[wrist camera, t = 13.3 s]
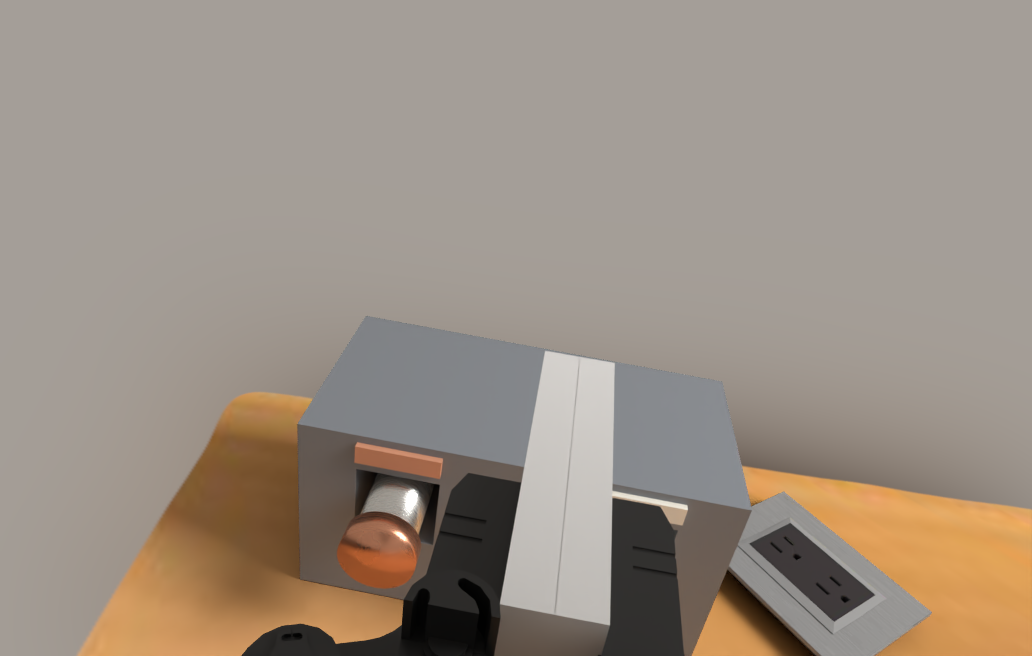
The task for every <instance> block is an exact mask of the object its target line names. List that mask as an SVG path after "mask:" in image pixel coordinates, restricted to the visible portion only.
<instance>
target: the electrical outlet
mask: <svg viewBox="0 0 1032 656" xmlns="http://www.w3.org/2000/svg"><path fill="white" fill-rule="evenodd" d="M751 508H752V512H751V514H750V517H749V519H748V521H747V524H746V526H745V529H744V531H743V533H742V536H741V538H740V540H739V543H738V545H737V548H736V550H735V552H734V555H733V557H732V560H731V562H730V564H729V567H728V569H727V570H728V571H729V572H730V573H731V574H732V575H733V576H734V577H735V578H736V579H737V580H738V581H739V582H740V583H741V584H742V585H743V586H744V587H745V588H746V589H747V590H748V591H749V592H750V593H751V594H752V595H753V596H754V597H755V598H756V599H757V600H758V601H759V602H760V603H761V604H762V605H763V606H764V607H765V608H767V609H768V610H769V611H770V612H771V613H772V614H773V615H774V616H775V617H776V618H777V619H778V620H779V621H780V622H781V623H782V624H783V625H784V626H785V627H786V628H787V629H788V630H789V631H790V632H791V633H792V634H793V635H794V636H795V637H796V638H797V639H798V640H799V641H800V642H801V643H802V644H803V645H804V646H805V647H806V648H807V649H808V650H809V651H810V652H811V653H812V654H813V655H814V656H875V655H876V654H878V653H879V652H880V651H882V650H883V649H885V648H886V647H887V646H889V645H890V644H891V643H893V642H894V641H896V640H897V639H898V638H900V637H901V636H902V635H904V634H905V633H907V632H908V631H909V630H911V629H912V628H913V627H915V626H916V625H918V624H919V623H920V622H922V621H923V620H925V619H926V618H927V617H929V616H930V615H931V613H932V612H931V611H930V610H928V609H927V608H926V607H925V606H923V605H922V604H921V603H920V602H919V601H917V600H916V599H915V598H914V597H912V596H911V595H910V594H909V593H908V592H906V591H905V590H904V589H903V588H901V587H900V586H899V585H898V584H896V583H895V582H894V581H893V580H892V579H890V578H889V577H888V576H887V575H885V574H884V573H883V572H882V571H881V570H879V569H878V568H877V567H876V566H874V565H873V564H872V563H871V562H870V561H868V560H867V559H866V558H865V557H863V556H862V555H861V554H860V553H858V552H857V551H856V550H855V549H854V548H852V547H851V546H850V545H849V544H847V543H846V542H845V541H844V540H843V539H841V538H840V537H839V536H838V535H836V534H835V533H834V532H833V531H832V530H830V529H829V528H828V527H827V526H825V525H824V524H823V523H822V522H820V521H819V520H818V519H817V518H816V517H814V516H813V515H812V514H811V513H809V512H808V511H807V510H806V509H805V508H803V507H802V506H801V505H800V504H798V503H797V502H796V501H795V500H794V499H792V498H791V497H790V496H789V495H787V494H786V493H785V492H782V493H779V494H777V495H775V496H773V497H771V498H769V499H766V500H764V501H762V502H760V503H758V504H756V505H753V506H751Z"/></svg>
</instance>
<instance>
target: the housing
mask: <svg viewBox="0 0 1032 656" xmlns="http://www.w3.org/2000/svg"><path fill="white" fill-rule="evenodd" d="M545 351H549V352H555V353H561V354H566V355H572V356H578V357H583V358H589V359H595V360H600V361H606V362H612V363H615V375H614V431H613V486H612V498H617V499H622V500H628V501H633V502H639V503H644V504H649V505H655V506H660V507H661V508H662V510H663V512H664V514H665V515H666V517H667V519H668V521H669V522H670V524H671V526H672V528H673V530H674V540H675V552H676V555H675V559H676V564H677V579H678V588H679V600H680V612H681V624H682V636H683V648H684V655H685V656H691V655H692V653H693V651H694V648H695V646H696V644H697V641H698V639H699V636H700V634H701V632H702V629H703V627H704V624H705V622H706V620H707V617H708V615H709V612H710V610H711V608H712V605H713V603H714V600H715V598H716V596H717V593H718V591H719V588H720V586H721V584H722V581H723V579H724V576H725V574H726V572H727V569H728V567H729V564H730V562H731V560H732V557H733V555H734V552H735V550H736V548H737V545H738V543H739V540H740V538H741V536H742V533H743V531H744V529H745V526H746V524H747V521H748V519H749V517H750V514H751V512H752V508H751V504H750V500H749V495H748V491H747V487H746V482H745V478H744V474H743V469H742V465H741V461H740V457H739V452H738V448H737V444H736V439H735V435H734V431H733V427H732V422H731V418H730V414H729V409H728V405H727V401H726V397H725V392H724V388H723V383H722V382H721V381H715V380H710V379H705V378H700V377H694V376H689V375H683V374H678V373H672V372H667V371H662V370H656V369H651V368H645V367H640V366H635V365H629V364H624V363H618V362H613V361H608V360H602V359H597V358H591V357H586V356H580V355H575V354H570V353H564V352H559V351H553V350H548V349H542V348H537V347H531V346H526V345H520V344H515V343H510V342H505V341H499V340H493V339H488V338H483V337H477V336H472V335H467V334H461V333H456V332H450V331H445V330H440V329H434V328H429V327H423V326H418V325H412V324H407V323H401V322H396V321H391V320H385V319H380V318H374V317H369V316H366V317H365V318H364V320H363V322H362V324H361V325H360V327H359V328H358V330H357V331H356V333H355V334H354V336H353V337H352V339H351V341H350V342H349V344H348V345H347V347H346V348H345V350H344V351H343V353H342V355H341V356H340V358H339V359H338V361H337V363H336V364H335V366H334V367H333V369H332V370H331V372H330V374H329V375H328V377H327V378H326V380H325V381H324V383H323V385H322V386H321V388H320V389H319V391H318V392H317V394H316V396H315V397H314V399H313V400H312V402H311V403H310V405H309V407H308V408H307V410H306V411H305V413H304V414H303V416H302V418H301V419H300V421H299V422H298V424H297V427H298V489H299V551H300V579H301V580H306V581H311V582H316V583H321V584H326V585H331V586H337V587H342V588H347V589H352V590H357V591H362V592H367V593H372V594H377V595H382V596H387V597H392V598H397V599H402V600H404V598H405V596H406V595H407V593H408V591H409V590H410V588H411V586H412V585H413V584H414V583H416V582H417V581H418V580H420V579H421V578H422V577H424V576H425V575H426V573H427V570H428V566H429V563H430V560H431V556H432V553H433V550H434V546H435V543H436V540H437V536H438V534H439V530H440V526H441V523H442V520H443V517H444V513H445V509H446V506H447V503H448V499H449V496H450V493H451V490H452V489H453V488H454V487H455V486H456V485H457V484H458V483H459V482H460V481H461V480H462V479H463V478H464V477H465V476H466V475H467V474H468V473H472V474H478V475H483V476H489V477H494V478H499V479H505V480H510V481H516V482H521V483H522V477H523V472H524V466H525V461H526V455H527V449H528V444H529V438H530V433H531V427H532V422H533V416H534V410H535V405H536V399H537V394H538V388H539V382H540V377H541V371H542V366H543V360H544V355H545ZM378 473H381V474H387V475H392V476H397V477H402V478H407V479H413V480H418V481H423V482H428V483H433V484H435V485H434V488H433V491H432V494H431V497H430V501H429V504H428V507H427V510H426V513H425V516H424V519H423V522H422V525H421V528H420V532H419V537H420V540H421V551H420V554H419V558H418V561H417V564H416V567H415V571H414V573H413V576H412V577H411V578H410V580H409V581H407V582H406V583H405V584H403V585H401V586H398V587H394V588H386V589H383V588H374V587H370V586H367V585H364V584H362V583H359V582H358V581H356V580H354V579H353V578H351V577H350V576H349V575H348V574H347V573H346V572H345V571H344V570H343V569H342V567H341V566H340V564H339V562H338V558H337V549H338V546H339V543H340V541H341V539H342V537H343V534H344V532H345V530H346V528H347V526H348V524H349V522H350V521H351V520H352V519H353V518H354V517H356V516H357V515H360V513H361V511H362V509H363V506H364V504H365V502H366V499H367V497H368V495H369V492H370V490H371V488H372V486H373V483H374V481H375V479H376V476H377V474H378Z"/></svg>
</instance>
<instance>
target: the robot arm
mask: <svg viewBox="0 0 1032 656" xmlns="http://www.w3.org/2000/svg"><path fill="white" fill-rule="evenodd" d="M614 375H615V363H612V362H606V361H600V360H595V359H589V358H583V357H578V356H572V355H566V354H561V353H555V352H549V351H545V355H544V360H543V366H542V371H541V377H540V382H539V388H538V394H537V399H536V405H535V410H534V416H533V422H532V427H531V433H530V438H529V444H528V449H527V455H526V461H525V466H524V472H523V477H522V483H521V482H516V481H510V480H505V479H499V478H494V477H489V476H483V475H478V474H472V473H468V474H467V475H466V476H465V477H464V478H463V479H462V480H461V481H460V482H459V483H458V484H457V485H456V486H455V487H454V488H453V489H452V490H451V493H450V496H449V499H448V503H447V506H446V509H445V513H444V517H443V520H442V523H441V526H440V530H439V534H438V536H437V540H436V543H435V546H434V550H433V553H432V556H431V560H430V563H429V566H428V570H427V573H426V575H425V576H424V577H422V578H421V579H420V580H418V581H417V582H416V583H414V584H413V585H412V586H411V588H410V590H409V591H408V593H407V595H406V596H405V598H404V602H403V617H402V625H401V626H400V627H399V628H397V629H396V630H395V631H393V632H391V633H389V634H386V635H384V636H382V637H380V638H375V639H371V640H366V641H358V642H349V643H340V644H335V642H334V640H333V638H332V637H331V636H329V635H328V634H326V633H325V632H324V631H322V630H321V629H320V628H317V627H313V626H308V625H304V624H295V625H286V626H281V627H278V628H276V629H274V630H272V631H269V632H267V633H265V634H263V635H262V636H261V637H260V638H258V639H257V640H256V641H255V642H254V643H253V644H252V645H250V646H249V647H248V648H247V650H246V651H245V652H244V653H243V654H242V656H685V655H684V648H683V636H682V624H681V612H680V600H679V588H678V579H677V564H676V559H675V555H676V552H675V540H674V530H673V528H672V526H671V524H670V522H669V521H668V519H667V517H666V515H665V514H664V512H663V510H662V508H661V507H660V506H655V505H649V504H644V503H639V502H633V501H628V500H622V499H617V498H612V486H613V431H614Z"/></svg>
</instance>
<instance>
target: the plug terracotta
mask: <svg viewBox="0 0 1032 656" xmlns="http://www.w3.org/2000/svg"><path fill="white" fill-rule="evenodd" d="M434 485H435V484H433V483H428V482H423V481H418V480H413V479H407V478H402V477H397V476H392V475H387V474H381V473H378V474H377V476H376V479H375V481H374V483H373V486H372V488H371V490H370V492H369V495H368V497H367V499H366V502H365V504H364V506H363V509H362V511H361V513H360V515H357V516H356V517H354V518H353V519H352V520H351V521H350V522H349V524H348V526H347V528H346V530H345V532H344V534H343V537H342V539H341V541H340V543H339V546H338V549H337V558H338V562H339V564H340V566H341V567H342V569H343V570H344V571H345V572H346V573H347V574H348V575H349V576H350V577H351V578H353V579H354V580H356V581H358V582H359V583H362V584H364V585H367V586H370V587H374V588H383V589H386V588H394V587H398V586H401V585H403V584H405V583H406V582H407V581H409V580H410V578H411V577H412V576H413V573H414V571H415V567H416V564H417V561H418V558H419V554H420V551H421V540H420V537H419V532H420V528H421V525H422V522H423V519H424V516H425V513H426V510H427V507H428V504H429V501H430V497H431V494H432V491H433V488H434Z"/></svg>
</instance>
